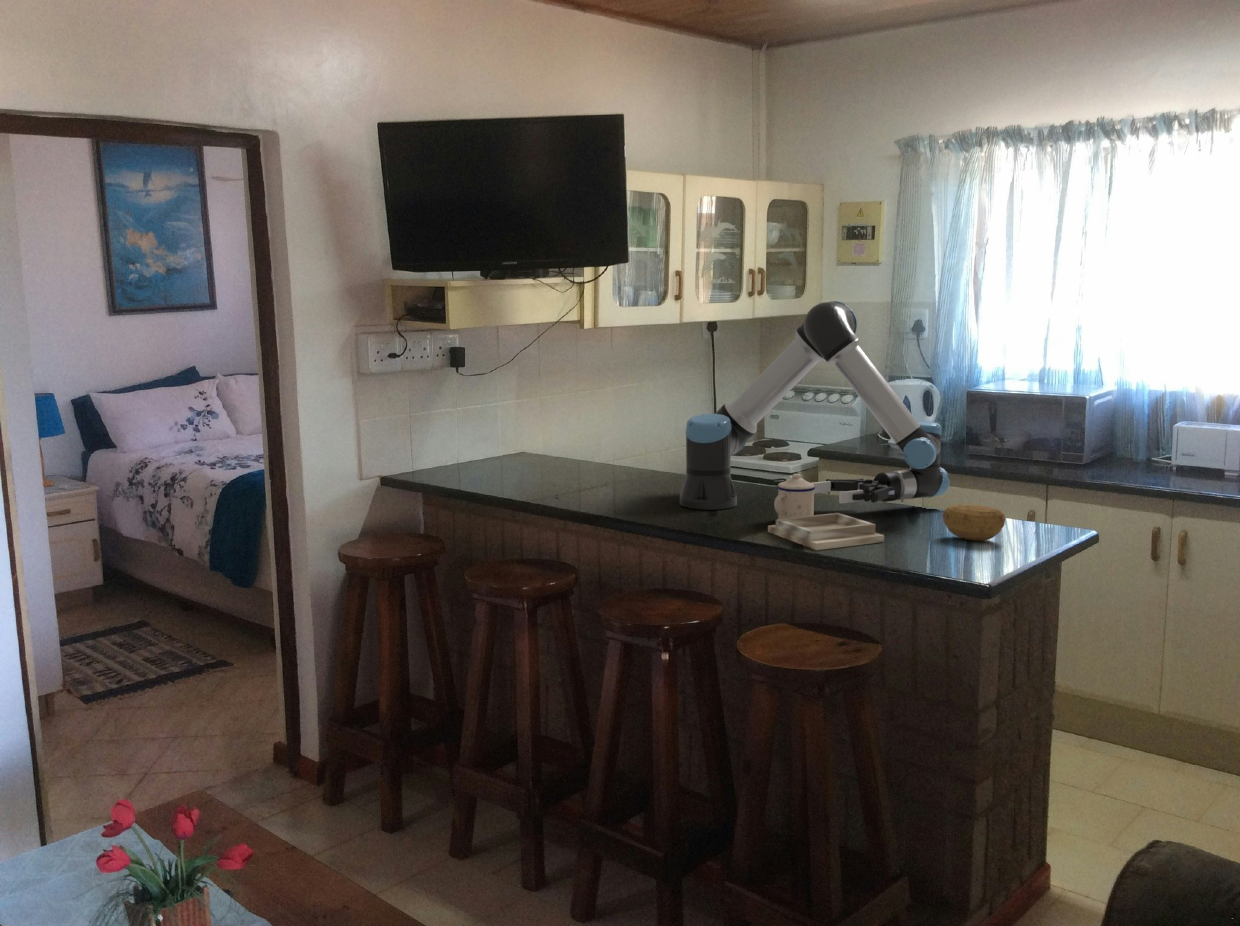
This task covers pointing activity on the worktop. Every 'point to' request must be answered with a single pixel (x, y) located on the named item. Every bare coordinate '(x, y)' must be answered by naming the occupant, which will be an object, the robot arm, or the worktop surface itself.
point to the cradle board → (826, 531)
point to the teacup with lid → (795, 498)
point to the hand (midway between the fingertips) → (823, 493)
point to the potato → (974, 521)
